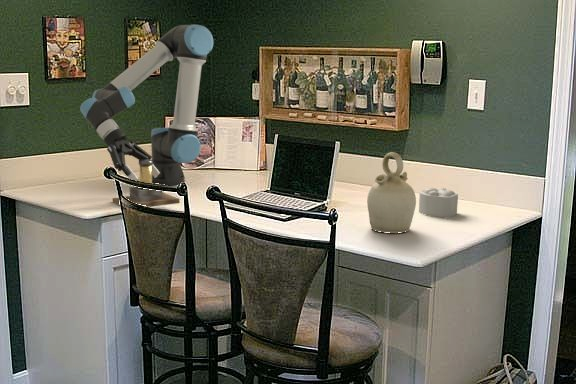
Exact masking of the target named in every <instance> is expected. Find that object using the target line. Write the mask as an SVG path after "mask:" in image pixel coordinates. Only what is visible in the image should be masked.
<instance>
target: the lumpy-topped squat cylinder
mask: <svg viewBox="0 0 576 384" xmlns="http://www.w3.org/2000/svg"><path fill="white" fill-rule="evenodd" d="M418 195H419V198H418V213H419V212H420V214H421V213H423V214H422V215H424V214H426V215H425V216H428V215H431V216H430V217H434V216H439V217H438V218H443V217H449V218H452V217H454V216H456V214H458V204H459V203H458V202H459V201H458V200H459V194H458V193H457V192H454V191H453V190H452V189H451V190H450V189H447V188H445V187H440V188H438V189H437V188H436V187H429V188H427V189H423V190H420V192H419V194H418ZM453 215H454V216H453Z"/></svg>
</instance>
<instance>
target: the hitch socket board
mask: <svg viewBox="0 0 576 384" xmlns="http://www.w3.org/2000/svg"><path fill="white" fill-rule="evenodd" d="M118 197H119V196H118ZM118 197H112V203H114V204H115V205H118V206H120V205H119V198H118ZM125 197H126V198H127V199H129V200H130V201H132V202H134V203H137V204H141V205H146V206H150V207H157V206H164V205H165V206H166V205H171V204H172V205H173V204H180V202H181V201H180V198H178V197H175V196H173V195H171V194H168V193H165V192H163V190H162V191H156V190H149V189H145V190H141V189H140V188H138V187H134V186H129V195H127V196H125Z"/></svg>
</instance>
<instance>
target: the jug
mask: <svg viewBox="0 0 576 384" xmlns="http://www.w3.org/2000/svg"><path fill="white" fill-rule="evenodd" d="M390 158H393V159H394V160H395V162H396V170H395V171H392V170H391V169H390V166H389V161H390ZM381 162H382V165H381V166H382V169H383V172H384V173H385V174H378V175H377V176H376V177H375V179H374V182H375V183H374V184H373V185H371V187H370V189H369V191H368V194H367V200H366V202H367V211H368V219H369V224H370V228H372V229H373V230H372V229H371V230H372V231H374V230H376V231H381V232H390V233H398V232H405V231H407V232H409V231H410V228H411V225H412V222H413V218H414V214H415V210H416V206H417V200H416V199H417V198H416V194H415V190H414V188H413V187H412V186H411V185H410V184H409V183H408V182H407V180H408V173H407V171H403V170H404V161H403V158H402V156H400V155H399V153H396V152H395V151H394V152H393V151H391V152H388V153H386V154H385V155H384V156H383V159H382V161H381ZM408 230H409V231H408ZM376 231H375V232H376ZM405 233H406V232H405Z"/></svg>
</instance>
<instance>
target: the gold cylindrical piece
mask: <svg viewBox="0 0 576 384" xmlns="http://www.w3.org/2000/svg"><path fill="white" fill-rule="evenodd" d="M138 165H139V183H140V182H145V183H152V165H153V160H152V159H150V160H149V159H142V160H138ZM140 189H141V190H145V189H143V188H140Z"/></svg>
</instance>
